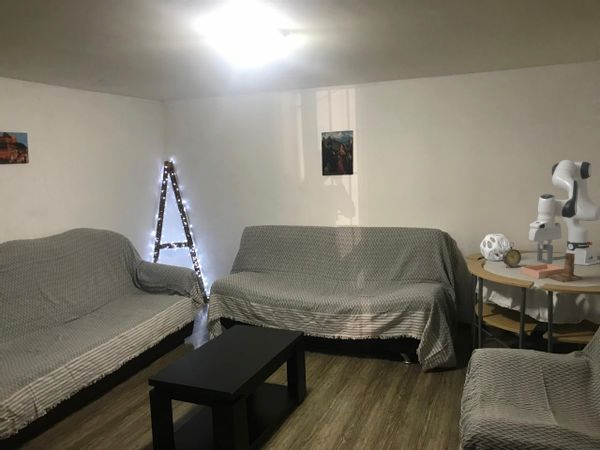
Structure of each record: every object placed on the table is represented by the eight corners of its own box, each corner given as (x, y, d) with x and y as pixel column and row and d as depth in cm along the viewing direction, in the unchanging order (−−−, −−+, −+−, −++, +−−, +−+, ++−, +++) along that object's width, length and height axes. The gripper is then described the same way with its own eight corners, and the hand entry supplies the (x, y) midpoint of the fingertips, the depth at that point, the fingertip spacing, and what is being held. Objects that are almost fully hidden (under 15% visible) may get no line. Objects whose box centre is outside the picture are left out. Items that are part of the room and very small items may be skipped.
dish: (546, 269, 298) (546, 263, 298) (565, 274, 285) (565, 268, 285) (520, 273, 292) (521, 266, 292) (538, 278, 279) (539, 271, 278)
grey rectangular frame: (540, 260, 276) (541, 242, 274) (552, 263, 268) (553, 245, 266) (537, 261, 275) (537, 243, 273) (548, 264, 267) (549, 245, 265)
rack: (566, 275, 284) (567, 251, 282) (581, 279, 275) (582, 254, 273) (544, 278, 279) (545, 254, 277) (558, 282, 270) (559, 257, 268)
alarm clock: (505, 268, 304) (506, 243, 302) (500, 266, 310) (501, 242, 307) (521, 267, 307) (522, 242, 304) (515, 265, 312) (516, 241, 309)
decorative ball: (502, 256, 341) (503, 231, 338) (515, 262, 321) (516, 236, 319) (474, 257, 340) (475, 232, 338) (486, 263, 320) (487, 237, 318)
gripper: (556, 221, 274) (555, 245, 276) (527, 224, 268) (526, 248, 270) (565, 222, 268) (564, 247, 270) (536, 226, 262) (535, 250, 264)
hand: (545, 247), depth 270 cm, fingers closed on grey rectangular frame, 2 cm apart
